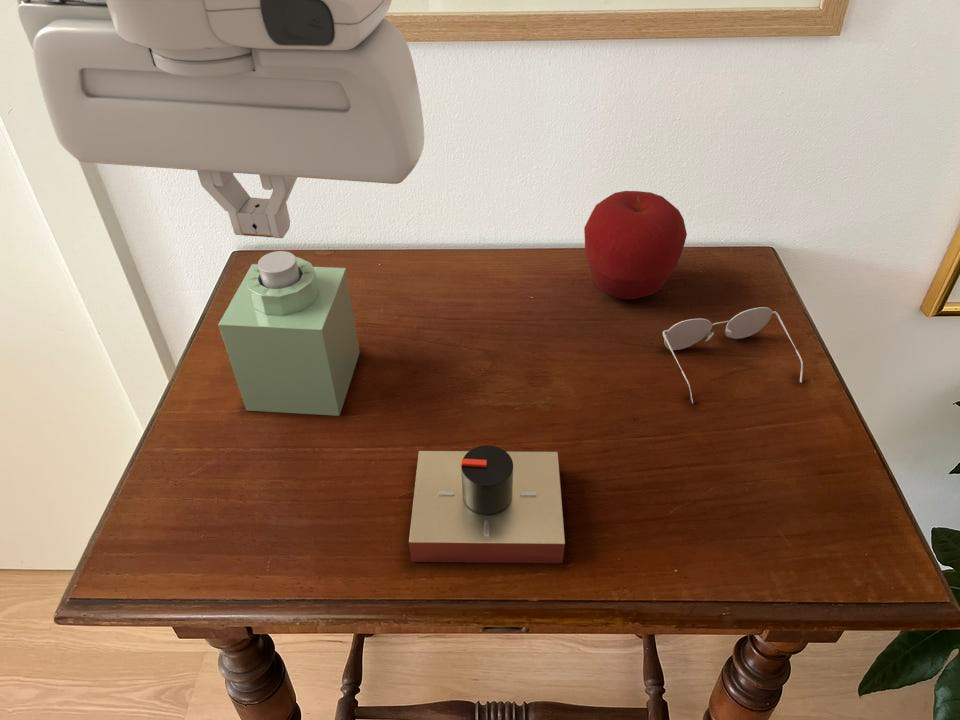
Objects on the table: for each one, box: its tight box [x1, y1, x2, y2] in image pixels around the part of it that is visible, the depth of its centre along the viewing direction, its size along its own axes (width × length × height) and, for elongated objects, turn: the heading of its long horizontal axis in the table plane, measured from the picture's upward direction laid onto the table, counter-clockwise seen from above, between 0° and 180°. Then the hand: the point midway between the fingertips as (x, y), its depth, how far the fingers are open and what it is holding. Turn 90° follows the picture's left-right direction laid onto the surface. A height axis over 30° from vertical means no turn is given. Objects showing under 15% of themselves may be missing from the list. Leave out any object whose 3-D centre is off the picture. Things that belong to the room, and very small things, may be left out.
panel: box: [408, 450, 566, 564], centre depth 65 cm, size 10×13×3 cm
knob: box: [461, 445, 513, 514], centre depth 62 cm, size 4×4×4 cm
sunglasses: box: [662, 306, 804, 404], centre depth 79 cm, size 14×8×5 cm, turn 104°
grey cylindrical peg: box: [257, 250, 300, 289], centre depth 69 cm, size 4×4×2 cm
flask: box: [217, 256, 361, 417], centre depth 75 cm, size 10×10×14 cm
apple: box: [583, 190, 688, 301], centre depth 86 cm, size 12×12×13 cm
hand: (263, 231), depth 44 cm, fingers closed
